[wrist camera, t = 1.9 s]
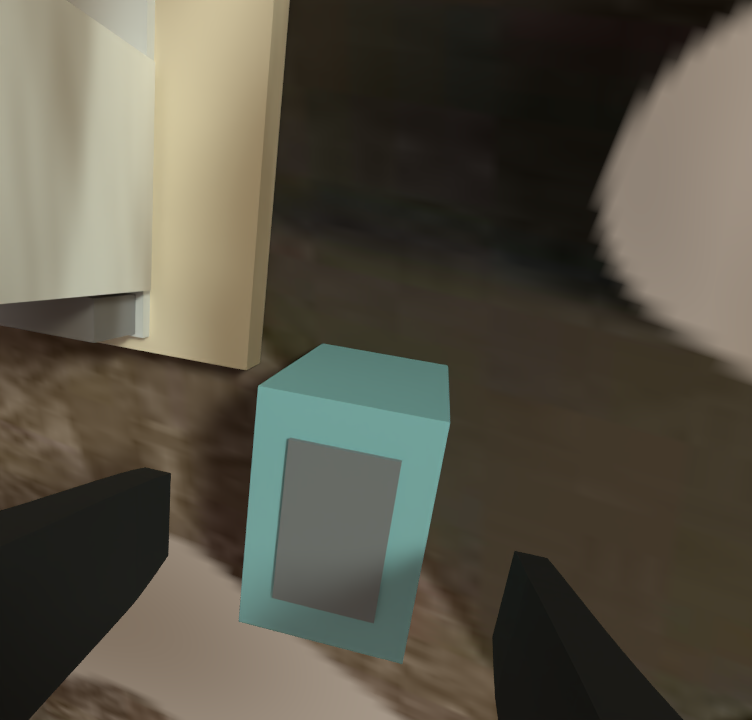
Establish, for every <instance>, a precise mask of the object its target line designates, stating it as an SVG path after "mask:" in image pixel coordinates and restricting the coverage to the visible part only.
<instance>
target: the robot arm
mask: <svg viewBox="0 0 752 720" xmlns="http://www.w3.org/2000/svg"><path fill="white" fill-rule="evenodd" d="M170 481H171V473H167V472H163V471H158V470H154V469H150V468H140V469H136V470H131V471H128V472H124V473H120V474H117V475H113V476H110V477H107V478H104V479H100V480H97V481H94V482H91V483H88V484H85V485H81V486H78V487H75V488H72V489H69V490H66V491H63V492H59V493H56V494H53V495H50V496H47V497H44V498H40V499H37V500H34V501H31V502H28V503H25V504H21V505H18V506H15V507H11V508H8V509H4V510H1V511H0V720H29V719H30V718H31V716H32V715H33V714H34V713H35V712H36V711H37V710H38V709H39V707H40V706H41V705H42V704H43V703H44V702H45V701H46V700H47V699H48V698H49V697H50V695H51V694H52V693H53V692H54V691H55V690H56V689H57V688H58V687H59V686H60V684H61V683H62V682H63V681H64V680H65V679H66V678H67V677H68V676H69V675H70V673H71V672H72V671H73V670H74V669H75V668H76V667H77V666H78V664H80V662H81V661H82V660H83V659H84V658H85V657H86V656H87V655H88V654H89V652H91V650H92V649H93V648H94V647H95V646H96V645H97V644H98V643H99V642H100V640H101V639H102V638H103V637H104V636H105V635H106V634H107V633H108V632H109V631H110V629H111V628H112V627H113V626H114V625H115V624H116V623H117V622H118V621H119V619H120V618H121V617H122V616H123V615H124V614H125V613H126V612H127V610H128V609H129V608H130V607H131V606H132V605H133V604H134V602H135V601H136V600H137V598H138V597H139V596H140V595H141V593H142V592H143V591H144V589H145V588H146V587H147V585H148V584H149V582H150V581H151V580H152V578H153V577H154V575H155V574H156V573H157V571H158V570H159V568H160V567H161V565H162V564H163V562H164V561H165V559H166V558H167V557H168V545H169V513H170ZM493 666H494V686H495V700H496V707H497V714H498V720H683V719H682V718H681V717H680V716H679V715H678V713H677V712H676V711H675V710H674V709H673V708H672V707H671V706H670V705H669V703H668V702H667V701H666V700H665V699H664V698H663V697H662V696H661V695H660V694H659V692H658V691H657V690H656V689H655V688H654V687H653V686H652V685H651V684H650V682H649V681H648V680H647V679H646V678H645V677H644V675H643V674H642V673H641V672H640V671H639V670H638V669H637V667H636V666H635V665H634V664H633V663H632V662H631V660H630V659H629V658H628V657H627V656H626V654H625V653H624V652H623V651H622V650H621V649H620V647H619V646H618V645H617V644H616V643H615V641H614V640H613V639H612V638H611V636H610V635H609V634H608V633H607V632H606V630H605V629H604V628H603V627H602V625H601V624H600V623H599V622H598V621H597V619H596V618H595V617H594V616H593V614H592V613H591V612H590V611H589V609H588V608H587V607H586V606H585V604H584V603H583V602H582V601H581V599H580V598H579V597H578V596H577V594H576V593H575V592H574V591H573V589H572V588H571V587H570V585H569V584H568V583H567V582H566V580H565V579H564V578H563V577H562V575H561V574H560V573H559V572H558V570H557V569H556V568H555V567H554V566H553V564H552V563H551V562H550V561H549V560H548V559H547V558H544V557H539V556H535V555H531V554H526V553H522V552H517V551H515V552H514V556H513V559H512V563H511V567H510V571H509V575H508V579H507V583H506V587H505V590H504V594H503V598H502V602H501V606H500V610H499V614H498V618H497V622H496V625H495V629H494V633H493Z"/></svg>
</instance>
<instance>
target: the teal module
mask: <svg viewBox="0 0 752 720" xmlns="http://www.w3.org/2000/svg"><path fill="white" fill-rule="evenodd" d="M449 425H450V407H449V381H448V366H447V365H441V364H436V363H430V362H424V361H419V360H413V359H407V358H402V357H396V356H390V355H385V354H379V353H373V352H368V351H362V350H356V349H350V348H345V347H339V346H333V345H328V344H321V345H320V346H318V347H317V348H315V349H313V350H312V351H310V352H309V353H307V354H306V355H304V356H303V357H301V358H300V359H298V360H297V361H295V362H294V363H292V364H291V365H289V366H288V367H286V368H285V369H283V370H281V371H280V372H278V373H277V374H275V375H274V376H272V377H271V378H269V379H268V380H266V381H265V382H263V383H262V384H260V385H259V386H258V393H257V406H256V418H255V430H254V442H253V454H252V466H251V478H250V490H249V503H248V515H247V527H246V539H245V551H244V563H243V575H242V588H241V600H240V612H239V622H243V623H247V624H251V625H255V626H258V627H262V628H266V629H270V630H273V631H277V632H281V633H285V634H289V635H293V636H296V637H300V638H304V639H308V640H312V641H316V642H320V643H323V644H327V645H331V646H335V647H339V648H343V649H347V650H350V651H354V652H358V653H362V654H366V655H370V656H374V657H377V658H381V659H385V660H389V661H393V662H397V663H400V664H402V662H403V657H404V652H405V647H406V642H407V637H408V632H409V627H410V622H411V617H412V612H413V607H414V602H415V597H416V592H417V587H418V582H419V577H420V572H421V567H422V562H423V557H424V551H425V546H426V541H427V536H428V531H429V526H430V521H431V516H432V511H433V506H434V501H435V496H436V491H437V486H438V481H439V476H440V471H441V466H442V461H443V456H444V451H445V446H446V441H447V436H448V430H449Z"/></svg>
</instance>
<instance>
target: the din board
mask: <svg viewBox="0 0 752 720" xmlns="http://www.w3.org/2000/svg"><path fill="white" fill-rule="evenodd" d="M289 2H290V0H0V325H1V326H7V327H12V328H17V329H23V330H28V331H33V332H39V333H44V334H49V335H55V336H60V337H65V338H71V339H76V340H81V341H86V342H92V343H96V342H98V343H103V344H109V345H114V346H119V347H125V348H130V349H135V350H141V351H146V352H151V353H157V354H162V355H167V356H173V357H178V358H183V359H189V360H194V361H199V362H205V363H210V364H215V365H221V366H226V367H231V368H237V369H242V370H248V369H250V368H252V367H254V366H255V365H257V364H259V363H260V356H261V344H262V332H263V319H264V307H265V295H266V283H267V271H268V258H269V246H270V234H271V222H272V210H273V197H274V185H275V173H276V161H277V149H278V136H279V124H280V112H281V100H282V87H283V75H284V63H285V51H286V39H287V26H288V14H289Z"/></svg>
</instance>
